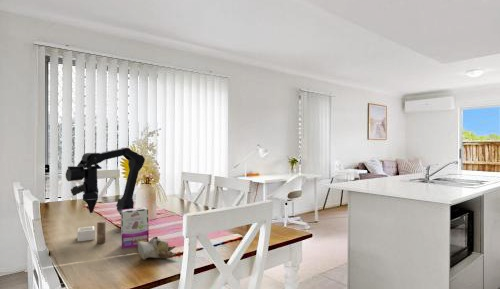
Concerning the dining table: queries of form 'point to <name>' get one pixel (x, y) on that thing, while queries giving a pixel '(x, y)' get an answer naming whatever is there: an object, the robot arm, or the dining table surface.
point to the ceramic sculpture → (155, 249)
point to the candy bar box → (134, 227)
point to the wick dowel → (101, 232)
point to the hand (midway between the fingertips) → (91, 210)
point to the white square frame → (86, 233)
